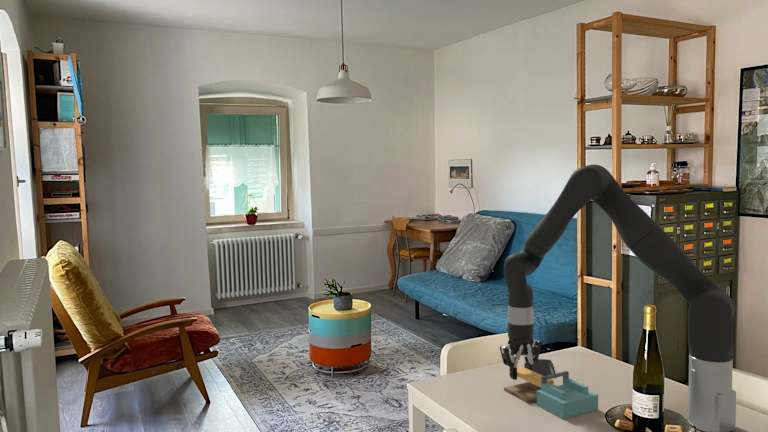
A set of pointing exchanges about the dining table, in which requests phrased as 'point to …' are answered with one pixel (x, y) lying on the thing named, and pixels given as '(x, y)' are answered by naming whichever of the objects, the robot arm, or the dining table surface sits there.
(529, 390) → the walnut mat
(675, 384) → the dining table surface
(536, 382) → the ticket card
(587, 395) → the ticket dispenser
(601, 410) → the dining table surface
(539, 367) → the phone
